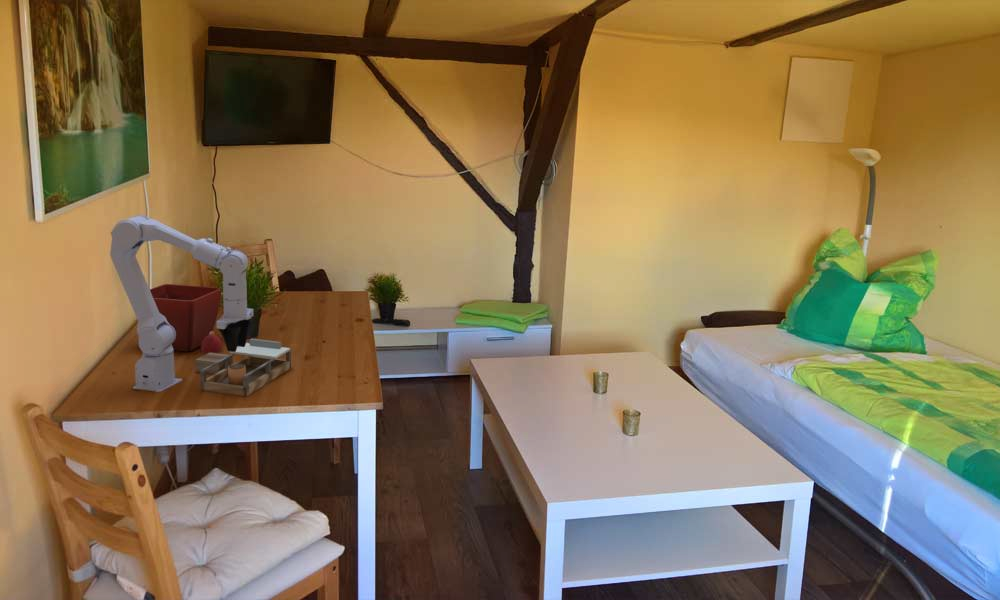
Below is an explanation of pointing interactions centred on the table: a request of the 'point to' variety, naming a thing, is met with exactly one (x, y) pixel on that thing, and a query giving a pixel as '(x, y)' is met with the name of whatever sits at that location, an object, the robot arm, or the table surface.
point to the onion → (211, 344)
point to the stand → (210, 360)
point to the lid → (262, 349)
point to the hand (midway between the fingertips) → (236, 348)
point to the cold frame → (255, 378)
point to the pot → (236, 374)
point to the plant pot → (188, 312)
